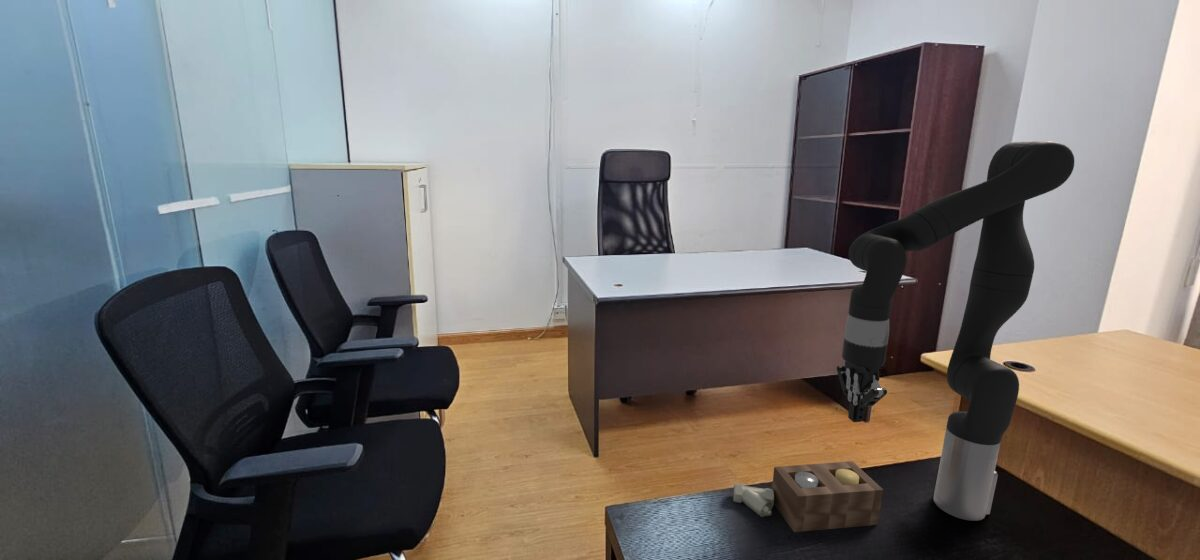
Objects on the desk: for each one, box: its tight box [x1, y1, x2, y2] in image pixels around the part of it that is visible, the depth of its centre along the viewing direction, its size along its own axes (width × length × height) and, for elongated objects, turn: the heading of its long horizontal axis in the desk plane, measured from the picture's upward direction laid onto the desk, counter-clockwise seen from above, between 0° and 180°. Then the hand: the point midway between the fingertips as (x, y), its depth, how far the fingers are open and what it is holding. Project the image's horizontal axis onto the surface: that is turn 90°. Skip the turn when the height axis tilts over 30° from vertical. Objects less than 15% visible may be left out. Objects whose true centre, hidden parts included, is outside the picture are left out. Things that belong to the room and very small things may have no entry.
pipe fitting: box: [732, 483, 775, 518], centre depth 109 cm, size 8×4×7 cm
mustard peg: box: [835, 469, 859, 485], centre depth 108 cm, size 4×4×8 cm
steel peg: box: [795, 472, 818, 488], centre depth 107 cm, size 4×4×8 cm
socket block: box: [771, 461, 884, 533], centre depth 107 cm, size 18×10×8 cm, turn 98°
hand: (855, 420), depth 104 cm, fingers closed
